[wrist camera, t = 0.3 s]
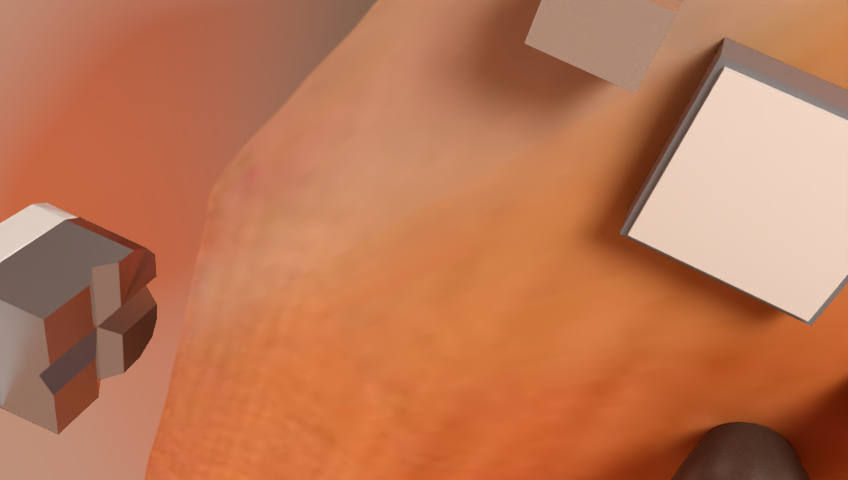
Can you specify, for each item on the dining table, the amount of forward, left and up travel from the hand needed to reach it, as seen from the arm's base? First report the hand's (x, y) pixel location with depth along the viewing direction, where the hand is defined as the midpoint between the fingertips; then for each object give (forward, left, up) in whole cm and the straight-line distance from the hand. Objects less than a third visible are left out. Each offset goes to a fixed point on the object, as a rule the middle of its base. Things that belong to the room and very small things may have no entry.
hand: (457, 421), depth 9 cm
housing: (+8, -3, -46) cm, 47 cm away
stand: (+15, +11, -46) cm, 50 cm away
